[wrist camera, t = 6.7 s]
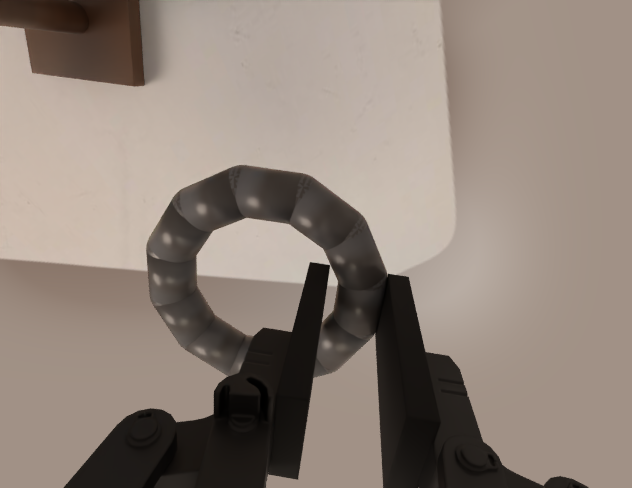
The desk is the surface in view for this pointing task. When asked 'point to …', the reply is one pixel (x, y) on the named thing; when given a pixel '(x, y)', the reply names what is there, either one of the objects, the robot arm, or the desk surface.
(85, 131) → the desk surface
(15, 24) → the stand
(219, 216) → the ring
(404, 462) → the robot arm
